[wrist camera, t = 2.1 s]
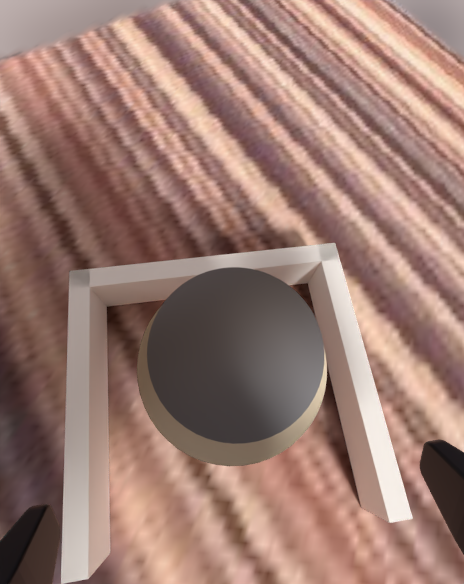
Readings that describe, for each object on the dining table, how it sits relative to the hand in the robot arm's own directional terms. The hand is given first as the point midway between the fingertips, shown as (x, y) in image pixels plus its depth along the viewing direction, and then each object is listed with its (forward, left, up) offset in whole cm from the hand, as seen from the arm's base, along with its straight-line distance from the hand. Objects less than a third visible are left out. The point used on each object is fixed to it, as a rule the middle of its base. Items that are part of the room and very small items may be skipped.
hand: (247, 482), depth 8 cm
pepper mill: (+2, -1, -10) cm, 10 cm away
